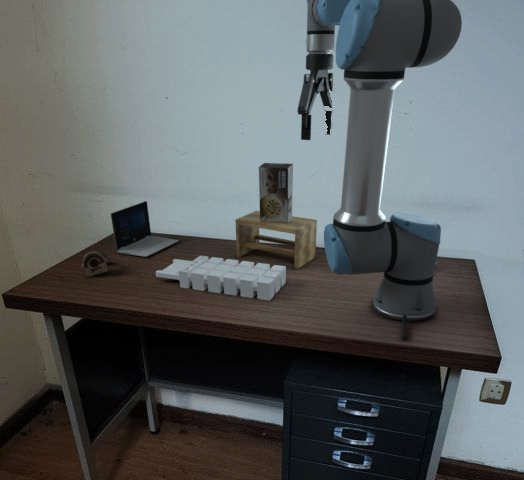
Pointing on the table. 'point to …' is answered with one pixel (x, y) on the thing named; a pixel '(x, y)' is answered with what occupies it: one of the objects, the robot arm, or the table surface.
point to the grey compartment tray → (227, 276)
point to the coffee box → (275, 192)
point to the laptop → (136, 232)
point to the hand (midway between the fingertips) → (316, 137)
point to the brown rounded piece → (95, 263)
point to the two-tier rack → (299, 226)
